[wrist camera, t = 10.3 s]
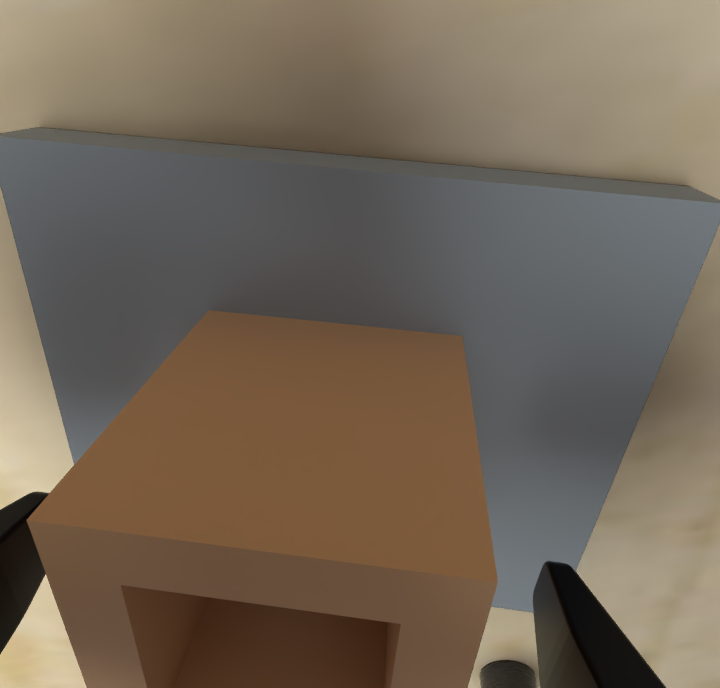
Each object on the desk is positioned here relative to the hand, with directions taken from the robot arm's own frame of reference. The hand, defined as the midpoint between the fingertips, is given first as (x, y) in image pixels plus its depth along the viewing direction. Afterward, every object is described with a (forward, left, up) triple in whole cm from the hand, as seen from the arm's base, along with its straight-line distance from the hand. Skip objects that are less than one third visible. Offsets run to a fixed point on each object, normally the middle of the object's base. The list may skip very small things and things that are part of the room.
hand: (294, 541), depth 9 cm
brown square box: (0, 0, -4) cm, 4 cm away
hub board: (0, 0, -5) cm, 5 cm away
